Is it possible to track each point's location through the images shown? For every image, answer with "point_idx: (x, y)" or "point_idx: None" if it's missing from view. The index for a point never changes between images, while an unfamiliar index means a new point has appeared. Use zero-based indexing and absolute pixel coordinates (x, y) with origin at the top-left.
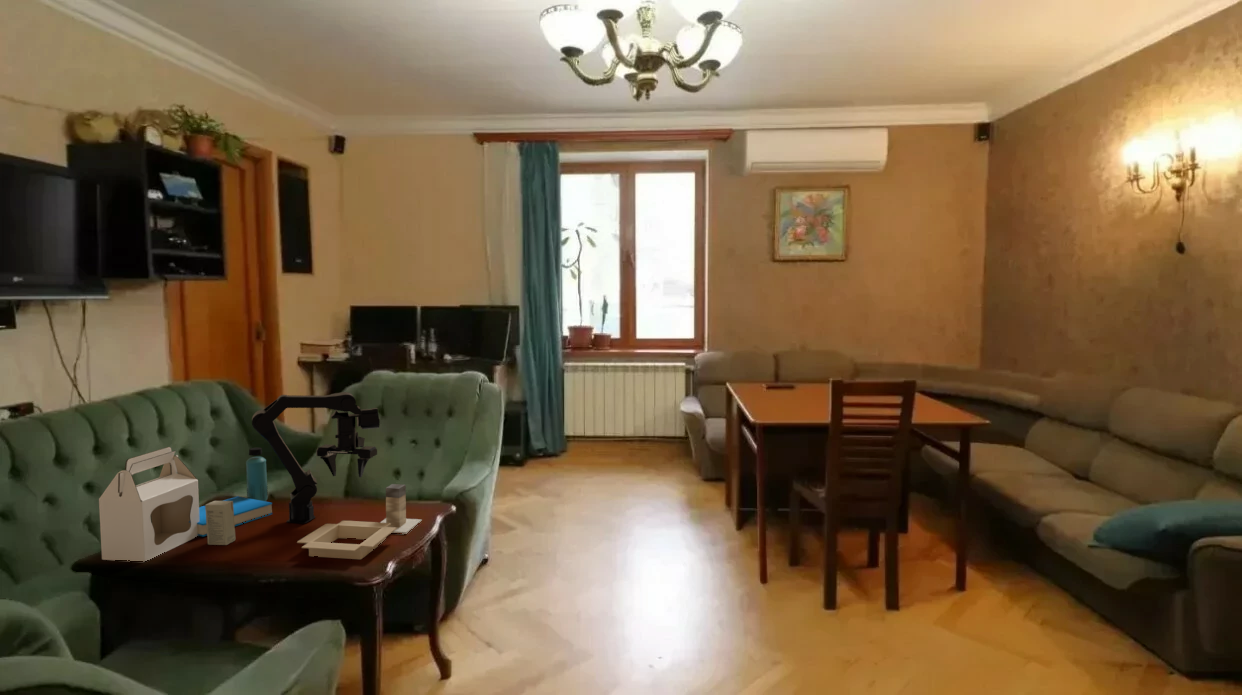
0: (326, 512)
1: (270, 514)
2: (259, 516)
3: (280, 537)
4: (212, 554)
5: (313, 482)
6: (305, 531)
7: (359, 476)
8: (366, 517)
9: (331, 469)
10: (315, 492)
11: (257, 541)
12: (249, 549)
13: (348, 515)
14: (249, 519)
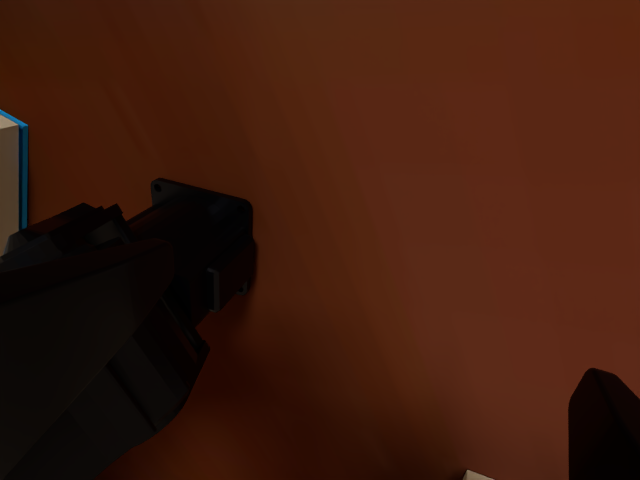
0: (266, 97)
1: (26, 137)
2: (17, 188)
3: (239, 412)
4: (143, 476)
5: (123, 445)
6: (298, 376)
7: (577, 425)
8: (583, 219)
9: (86, 374)
10: (188, 369)
11: (189, 425)
12: (209, 476)
13: (434, 167)
14: (16, 230)
